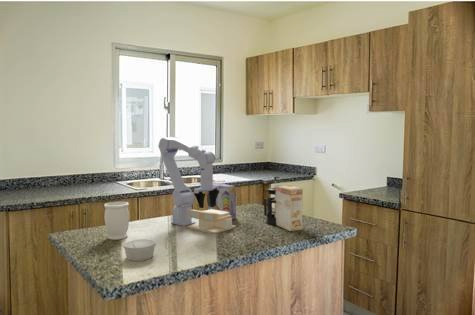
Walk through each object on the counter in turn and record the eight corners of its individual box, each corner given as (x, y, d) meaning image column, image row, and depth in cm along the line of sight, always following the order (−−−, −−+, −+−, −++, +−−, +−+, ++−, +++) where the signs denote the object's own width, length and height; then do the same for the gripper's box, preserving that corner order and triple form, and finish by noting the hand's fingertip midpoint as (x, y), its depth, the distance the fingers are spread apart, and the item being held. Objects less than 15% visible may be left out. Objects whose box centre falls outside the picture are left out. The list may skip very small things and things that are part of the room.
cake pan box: (206, 214, 214) (206, 182, 212) (213, 213, 217) (213, 181, 216) (229, 220, 200) (229, 186, 198) (236, 219, 203) (236, 185, 202)
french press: (289, 222, 195) (289, 176, 193) (279, 226, 188) (278, 178, 186) (270, 219, 203) (270, 175, 201) (259, 222, 195) (259, 176, 194)
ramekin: (117, 258, 143) (117, 244, 143) (140, 250, 152) (140, 237, 152) (138, 264, 137) (138, 249, 137) (161, 255, 146) (161, 242, 146)
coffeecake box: (303, 229, 181) (303, 188, 180) (289, 231, 179) (289, 189, 177) (286, 222, 195) (286, 183, 194) (273, 224, 192) (273, 184, 191)
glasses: (207, 212, 195) (207, 206, 195) (231, 217, 185) (231, 210, 185) (189, 217, 186) (189, 210, 186) (214, 222, 176) (214, 214, 176)
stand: (208, 221, 198) (208, 208, 197) (236, 227, 187) (236, 212, 186) (186, 227, 186) (186, 213, 186) (214, 234, 175) (214, 218, 174)
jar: (104, 235, 174) (103, 202, 173) (128, 233, 177) (127, 200, 176) (105, 242, 164) (104, 206, 163) (131, 239, 168) (130, 204, 166)
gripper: (201, 180, 176) (202, 210, 177) (223, 176, 187) (223, 205, 188) (190, 179, 180) (191, 208, 181) (212, 175, 191) (213, 203, 192)
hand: (207, 206), depth 185 cm, fingers open, 7 cm apart
